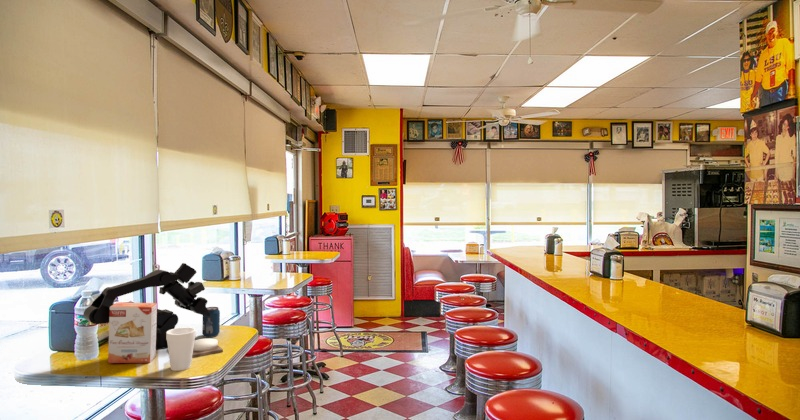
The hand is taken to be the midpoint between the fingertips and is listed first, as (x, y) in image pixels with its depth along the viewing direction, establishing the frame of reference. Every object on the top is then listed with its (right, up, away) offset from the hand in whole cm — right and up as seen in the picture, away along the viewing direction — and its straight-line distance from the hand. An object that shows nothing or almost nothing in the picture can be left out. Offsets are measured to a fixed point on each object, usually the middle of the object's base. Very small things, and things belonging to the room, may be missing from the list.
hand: (204, 313), depth 192 cm
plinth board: (+4, -10, -17) cm, 21 cm away
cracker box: (-13, -10, -31) cm, 35 cm away
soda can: (+2, -10, +3) cm, 11 cm away
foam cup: (+8, -11, -36) cm, 38 cm away
